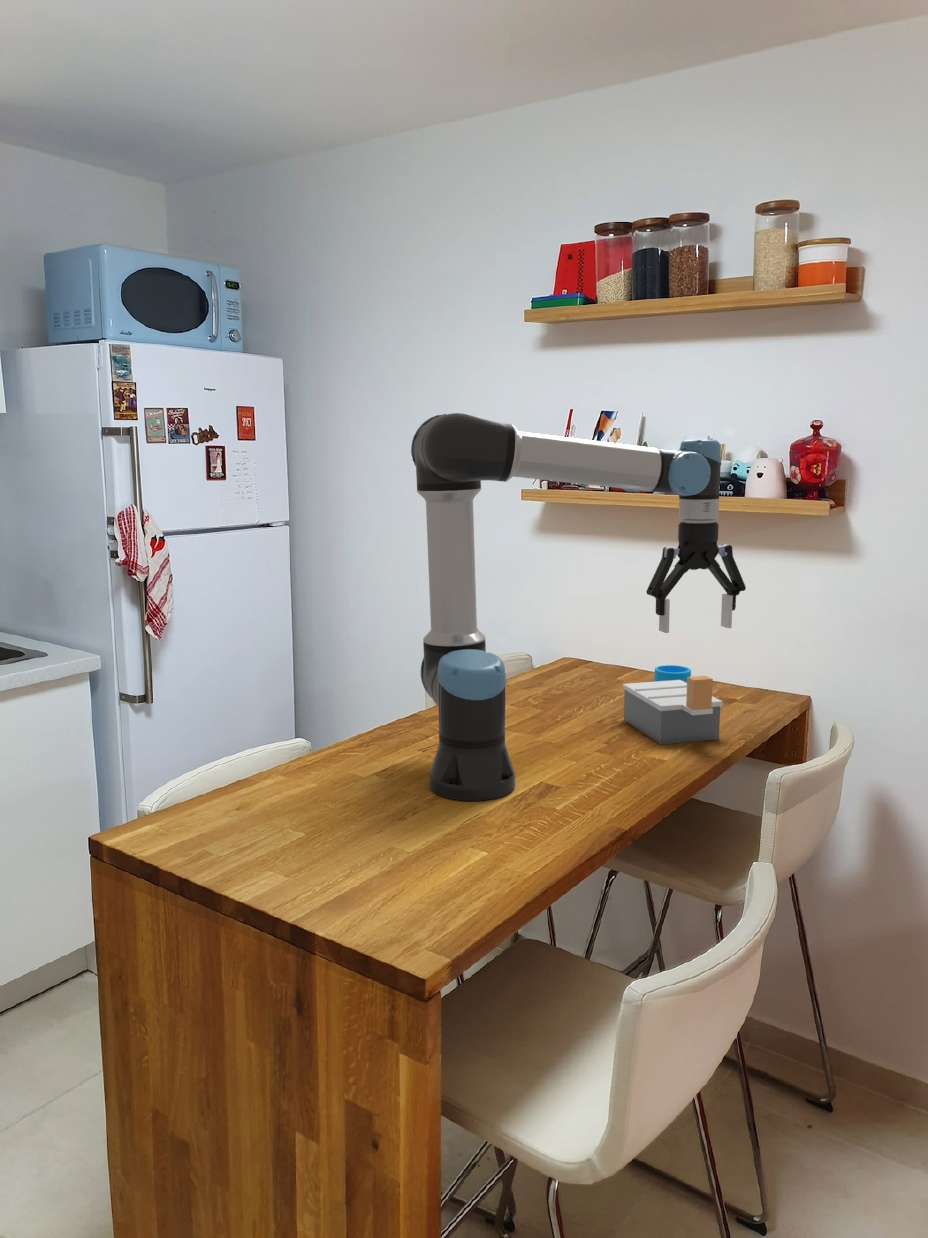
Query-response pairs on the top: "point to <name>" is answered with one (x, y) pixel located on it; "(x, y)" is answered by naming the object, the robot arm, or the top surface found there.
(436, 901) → the top surface
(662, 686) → the lid
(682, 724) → the tub
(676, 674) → the mug
